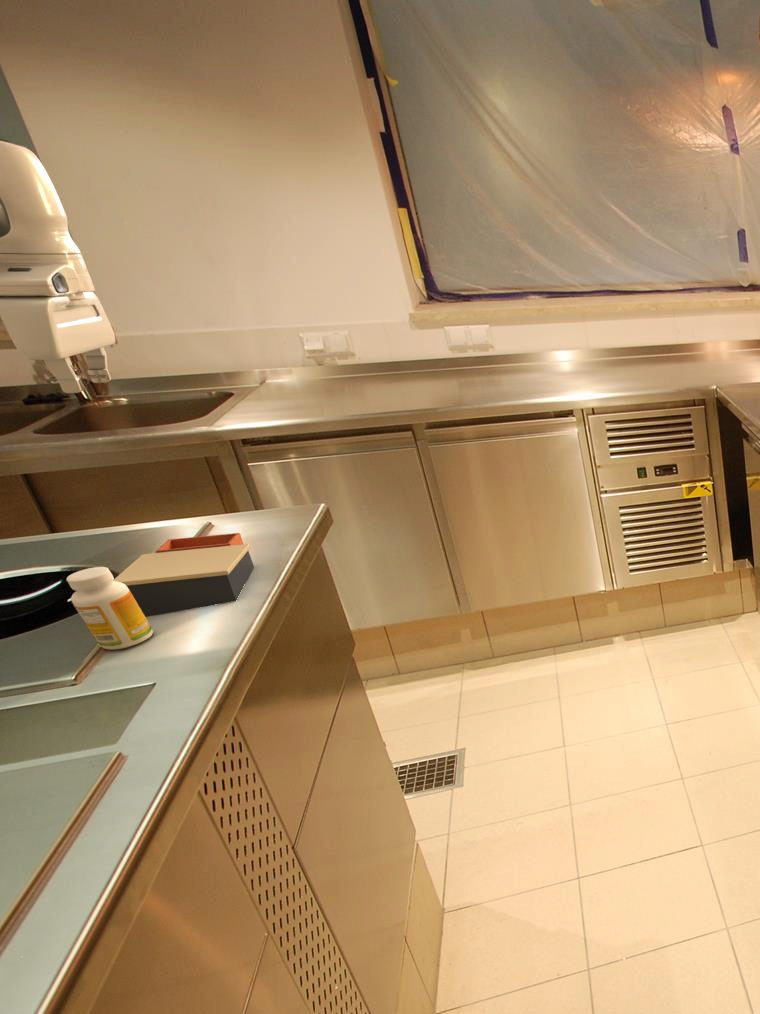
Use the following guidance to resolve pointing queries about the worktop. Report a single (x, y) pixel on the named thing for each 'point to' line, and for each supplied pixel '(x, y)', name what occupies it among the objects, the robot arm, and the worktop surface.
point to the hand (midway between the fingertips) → (88, 387)
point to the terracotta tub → (201, 542)
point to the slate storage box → (187, 578)
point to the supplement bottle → (108, 609)
